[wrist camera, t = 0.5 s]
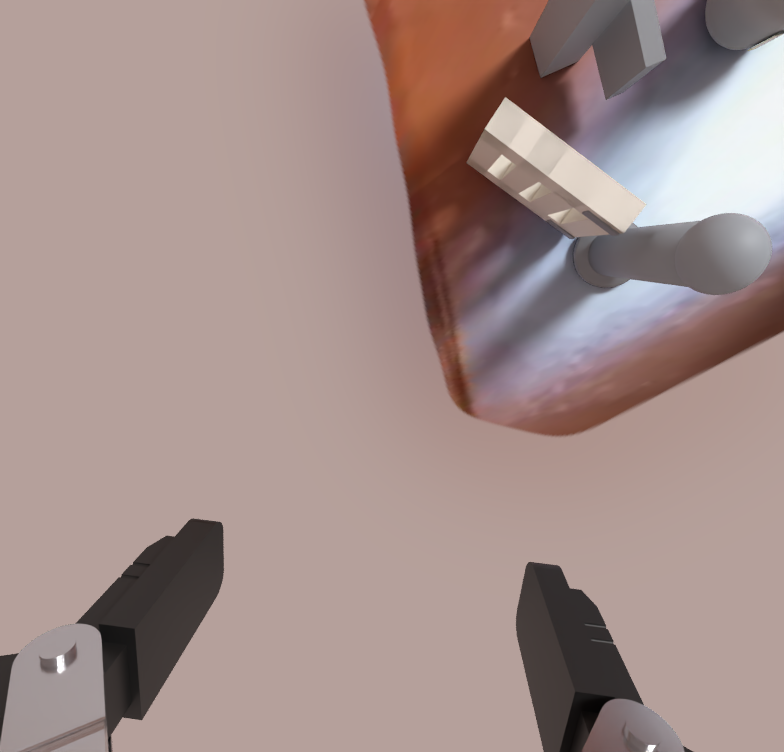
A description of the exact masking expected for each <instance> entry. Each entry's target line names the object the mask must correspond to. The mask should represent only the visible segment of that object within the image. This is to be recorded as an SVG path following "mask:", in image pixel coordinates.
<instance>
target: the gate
mask: <svg viewBox="0 0 784 752" xmlns="http://www.w3.org/2000/svg"><path fill="white" fill-rule="evenodd" d="M466 163H467V164H469V165H470V166H471V167H473V168H474V169H475V170H477V171H478V172H480V173H481V174H482V175H484V176H485V177H486V178H488V179H489V180H490V181H492V182H493V183H494V184H496V185H497V186H499V187H500V188H501V189H503V190H504V191H505V192H507V193H508V194H509V195H511V196H512V197H514V198H515V199H516V200H518V201H519V202H520V203H522V204H523V205H524V206H526V207H527V208H529V209H530V210H531V211H533V212H534V213H535V214H537V215H538V216H539V217H541V218H542V219H544V220H545V221H546V222H548V223H549V224H550V225H552V226H553V227H554V228H556V229H557V230H558V231H560V232H561V233H562V234H564V235H565V236H567V237H568V238H569V239H574V238H575V237H585V236H597V235H609V234H610V235H611V236H616V235H619V234H621V233H625V231H626V230H627V229H628V227H629V226H630V225H631V224H632V222H633V221H634V220H635V219H636V217H637V216H638V215H639V213H640V212H641V211H642V210H643V208H644V207H645V206H646V204H645V203H644V202H643V201H641V200H640V199H639V198H637V197H636V196H635V195H634V194H632V193H631V192H630V191H628V190H627V189H626V188H624V187H623V186H622V185H620V184H619V183H618V182H616V181H615V180H614V179H612V178H611V177H610V176H609V175H607V174H606V173H605V172H603V171H602V170H601V169H599V168H598V167H597V166H595V165H594V164H593V163H591V162H590V161H589V160H587V159H586V158H585V157H584V156H582V155H581V154H580V153H578V152H577V151H576V150H574V149H573V148H572V147H570V146H569V145H568V144H566V143H565V142H564V141H563V140H561V139H560V138H559V137H557V136H556V135H555V134H553V133H552V132H551V131H549V130H548V129H547V128H545V127H544V126H543V125H541V124H540V123H539V122H538V121H536V120H535V119H534V118H532V117H531V116H530V115H528V114H527V113H526V112H524V111H523V110H522V109H520V108H519V107H518V106H517V105H515V104H514V103H513V102H511V101H510V100H509V99H507V98H506V97H505V98H504V100H503V101H502V103H501V105H500V106H499V108H498V109H497V111H496V112H495V114H494V115H493V117H492V118H491V120H490V121H489V123H488V124H487V126H486V128H485V129H484V131H483V133H482V135H481V136H480V138H479V140H478V142H477V144H476V146H475V147H474V149H473V151H472V153H471V155H470V157H469V159H468V160H467V162H466Z"/></svg>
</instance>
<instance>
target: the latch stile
mask: <svg viewBox="0 0 784 752" xmlns="http://www.w3.org/2000/svg"><path fill="white" fill-rule="evenodd" d="M529 38H530V41H531V45H532V49H533V52H534V56H535V60H536V63H537V67H538V71H539V74H540V78H542V77H544V76H546V75H549V74H551V73H553V72H555V71H558V70H560V69H562V68H564V67H567V66H569V65H571V64H574V63H576V62H578V61H579V60H580V58H581V57H582V56H583V55H584V54H585V53H586V51H587V50H588V49H589V48H590V47H591V45H593V49H594V53H595V57H596V62H597V66H598V70H599V74H600V78H601V82H602V86H603V90H604V94H605V99H606V100H607V99H609V98H611V97H614V96H616V95H619V94H621V93H623V92H624V91H626V90H627V89H628V88H629V87H631V86H632V85H633V84H635V83H636V82H637V81H638V80H640V79H641V78H642V77H644V76H645V75H646V74H648V73H649V72H650V71H651V70H653V69H654V68H655V67H657V66H658V65H659V64H660V63H662V62H663V61H664V60H666V54H665V49H664V44H663V40H662V35H661V30H660V25H659V21H658V16H657V11H656V6H655V2H654V0H549V1H548V3H547V5H546V7H545V9H544V11H543V12H542V14H541V16H540V18H539V20H538V22H537V24H536V26H535V28H534V30H533V32H532V34H531V36H530V37H529Z"/></svg>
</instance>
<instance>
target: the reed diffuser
mask: <svg viewBox="0 0 784 752" xmlns="http://www.w3.org/2000/svg"><path fill="white" fill-rule="evenodd" d="M705 20H706V25H707V29H708V31H709V33H710V35H711V37H712V38H713V39H714V40H715V42H716V43H718V44H719V45H721V46H722V47H725V48H727V49H731V50H744V49H747V48H751V47H753V46H755V45H757V44H759V43H761V42H762V43H761V44H759V45H757V46H755V47H753V48H752V49H750V50H753V49H756V48H758V47H760V46H762V45H764V44H766V43H767V42H769V41H771V40H773V39H775V38H777V37H778V36H780V35H782V34H784V0H707V3H706V10H705ZM774 35H775V36H774ZM772 36H773V37H772ZM769 38H770V39H769ZM767 39H768V40H767ZM765 40H766V41H765ZM763 41H764V42H763ZM748 51H749V50H748Z"/></svg>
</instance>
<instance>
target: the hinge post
mask: <svg viewBox="0 0 784 752" xmlns="http://www.w3.org/2000/svg"><path fill="white" fill-rule="evenodd" d="M771 254H772V242H771V238H770V235H769V233H768V231H767V230H766V228H765V227H764V226H763V225H762V224H761V223H760V222H758V221H757V220H755V219H753V218H752V217H749V216H747V215H742V214H737V213H724V214H718V215H714V216H711V217H708V218H706V219H704V220H702V221H695V222H685V223H676V224H666V225H656V226H647V227H637V226H636V225H635V224H634V223H632V224H631V225H630V226H629V227H628V229H627V230H626V231H625V233H621V234H619V235H616V236H611V235H610V234H609V235H597V236H585V237H579V238H578V239H577V242H576V244H575V247H574V252H573V262H574V266H575V269H576V271H577V273H578V274H579V276H580V277H581V278H582V279H583V280H584V281H585V282H587V283H589V284H591V285H594V286H598V287H604V288H610V287H615V286H619V285H621V284H623V283H625V282H627V281H628V280H630V279H633V280H641V281H648V282H656V283H663V284H671V285H678V286H685V287H690V288H692V289H693V290H695V291H698V292H700V293H704V294H710V295H722V294H728V293H732V292H736V291H738V290H741V289H743V288H745V287H747V286H748V285H750V284H751V283H753V282H754V281H755V280H756V279H757V278H758V277H759V276H760V275H761V274H762V273H763V272H764V270H765V269H766V267H767V265H768V263H769V261H770V258H771Z"/></svg>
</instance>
